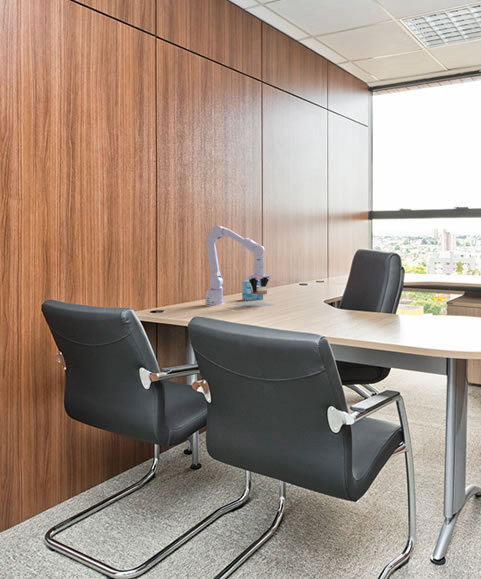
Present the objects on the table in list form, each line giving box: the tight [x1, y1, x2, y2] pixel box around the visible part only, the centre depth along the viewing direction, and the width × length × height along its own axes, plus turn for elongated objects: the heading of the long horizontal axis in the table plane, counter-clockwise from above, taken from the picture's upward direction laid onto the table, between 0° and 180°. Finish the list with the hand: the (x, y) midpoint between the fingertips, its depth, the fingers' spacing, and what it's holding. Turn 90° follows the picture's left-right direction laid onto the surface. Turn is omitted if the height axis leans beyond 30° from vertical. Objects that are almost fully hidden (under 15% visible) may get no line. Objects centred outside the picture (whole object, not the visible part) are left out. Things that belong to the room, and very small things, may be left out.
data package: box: [241, 279, 264, 301], centre depth 328 cm, size 12×4×12 cm, turn 120°
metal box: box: [251, 286, 268, 296], centre depth 305 cm, size 8×5×4 cm, turn 35°
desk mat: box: [233, 301, 274, 308], centre depth 307 cm, size 18×17×1 cm
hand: (258, 291), depth 305 cm, fingers closed on metal box, 5 cm apart
